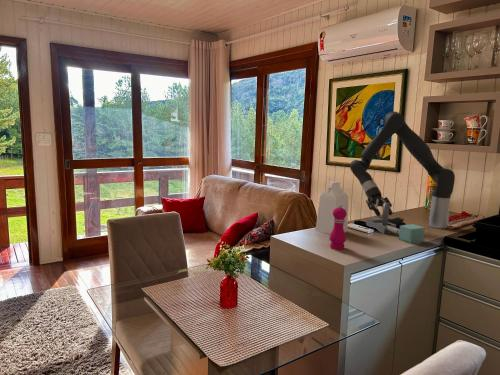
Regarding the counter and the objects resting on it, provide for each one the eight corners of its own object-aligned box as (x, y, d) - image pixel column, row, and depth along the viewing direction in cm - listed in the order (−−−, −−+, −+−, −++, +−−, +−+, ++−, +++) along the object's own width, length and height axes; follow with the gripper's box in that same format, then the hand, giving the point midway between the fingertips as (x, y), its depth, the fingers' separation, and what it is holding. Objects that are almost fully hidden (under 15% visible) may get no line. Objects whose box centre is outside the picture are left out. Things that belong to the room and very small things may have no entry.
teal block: (411, 237, 185) (413, 224, 184) (423, 241, 179) (424, 227, 177) (398, 239, 181) (400, 225, 180) (410, 243, 175) (411, 229, 173)
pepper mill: (326, 245, 169) (329, 202, 165) (342, 245, 169) (345, 202, 166) (331, 250, 161) (334, 206, 158) (347, 250, 162) (351, 206, 159)
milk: (329, 226, 200) (332, 179, 196) (347, 231, 192) (351, 182, 188) (315, 230, 193) (318, 181, 188) (333, 235, 184) (337, 184, 180)
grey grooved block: (377, 226, 205) (377, 217, 204) (395, 232, 193) (396, 222, 192) (366, 227, 201) (366, 218, 200) (384, 233, 190) (385, 224, 189)
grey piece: (376, 225, 202) (378, 200, 199) (402, 234, 186) (405, 207, 184) (372, 226, 200) (374, 200, 198) (398, 235, 185) (401, 207, 182)
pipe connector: (389, 214, 213) (413, 219, 201) (388, 222, 214) (412, 229, 201) (376, 216, 206) (400, 222, 194) (376, 225, 207) (400, 232, 195)
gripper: (365, 186, 196) (379, 212, 188) (385, 185, 202) (399, 210, 194) (357, 194, 202) (371, 219, 193) (377, 193, 208) (390, 217, 200)
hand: (385, 215), depth 194 cm, fingers open, 8 cm apart
